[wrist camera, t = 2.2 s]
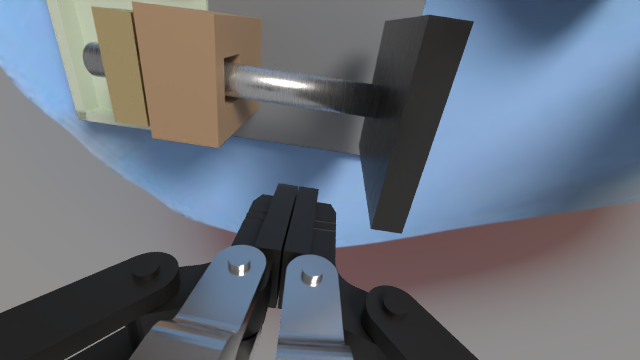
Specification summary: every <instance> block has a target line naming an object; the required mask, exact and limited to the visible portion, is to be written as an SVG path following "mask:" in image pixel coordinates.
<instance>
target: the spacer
mask: <svg viewBox="0 0 640 360" xmlns="http://www.w3.org/2000/svg"><path fill="white" fill-rule="evenodd" d="M91 10H92V14H93V19H94V24H95V29H96V33H97V38H98V43H99V48H100V52H101V57H102V62H103V67H104V71H105V76H106V81H107V86H108V91H109V95H110V100H111V105H112V110H113V114H114V119H115V122H118V123H125V124H132V125H138V126H145V127H149V126H150V121H149V114H148V107H147V101H146V94H145V87H144V81H143V74H142V68H141V61H140V54H139V48H138V41H137V34H136V28H135V21H134V15H133V10H129V9H117V8H105V7H93V6H91Z"/></svg>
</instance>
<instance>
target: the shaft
mask: <svg viewBox="0 0 640 360" xmlns="http://www.w3.org/2000/svg"><path fill="white" fill-rule="evenodd" d="M472 25H473V21H467V20H460V19H453V18H447V17H440V16H434V15H424V16H417V17H410V18H403V19H396V20H389V21H385V23H384V28H383V33H382V37H381V42H380V47H379V52H378V56H377V61H376V66H375V71H374V75H373V80H372V84H369V83H362V82H356V81H349V80H343V79H336V78H329V77H323V76H316V75H309V74H303V73H296V72H290V71H283V70H276V69H270V68H263V67H257V66H250V65H243V64H237V63H230V62H224V85H225V96H229V97H236V98H242V99H249V100H256V101H262V102H269V103H276V104H282V105H289V106H295V107H302V108H309V109H315V110H322V111H329V112H335V113H342V114H349V115H355V116H362V117H365V118H364V123H363V127H362V132H361V137H360V142H359V152H360V158H361V165H362V172H363V179H364V186H365V192H366V199H367V206H368V213H369V220H370V226H371V229H375V230H382V231H388V232H395V233H402V231H403V228H404V225H405V222H406V219H407V217H408V214H409V211H410V208H411V205H412V202H413V199H414V196H415V193H416V190H417V187H418V184H419V181H420V178H421V175H422V172H423V169H424V166H425V164H426V161H427V158H428V155H429V152H430V149H431V146H432V143H433V140H434V137H435V134H436V131H437V128H438V125H439V122H440V119H441V116H442V113H443V111H444V108H445V105H446V102H447V99H448V96H449V93H450V90H451V87H452V84H453V81H454V78H455V75H456V72H457V69H458V66H459V63H460V60H461V57H462V55H463V52H464V49H465V46H466V43H467V40H468V37H469V34H470V31H471V28H472ZM83 62H84V65H85V67H86V69H87V70H88V72H89V73H90V74H92V75H93V76H96V77H103V78H106V76H105V71H104V67H103V62H102V57H101V52H100V48H99V43H98V42H90V43H88V44H87V45H86V46H85V47H84V50H83Z"/></svg>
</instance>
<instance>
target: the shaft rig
mask: <svg viewBox="0 0 640 360" xmlns="http://www.w3.org/2000/svg"><path fill="white" fill-rule="evenodd" d="M46 1H47V5H48V9H49V12H50V16H51V20H52V24H53V27H54V31H55V35H56V38H57V42H58V46H59V49H60V53H61V57H62V61H63V64H64V68H65V72H66V75H67V79H68V83H69V86H70V90H71V94H72V97H73V101H74V105H75V109H76V112H77V116H78V120H85V121H92V122H98V123H105V124H112V125H119V126H125V127H132V128H139V129H145V130H151V134H152V138H155V139H162V140H168V141H175V142H182V143H188V144H195V145H202V146H208V147H215V148H219V147H220V146H221V145H222V144H223V143H224V142H225V141H226V140H227V139H228V138H229V137H230V136H236V137H243V138H250V139H256V140H263V141H270V142H276V143H283V144H290V145H296V146H303V147H310V148H316V149H323V150H330V151H336V152H343V153H350V154H356V155H360V152H359V142H360V137H361V132H362V127H363V123H364V118H365V117H362V116H355V115H349V114H342V113H335V112H329V111H322V110H315V109H309V108H302V107H295V106H289V105H282V104H276V103H269V102H262V101H256V100H249V99H242V98H236V97H229V96H225V85H224V62H230V63H237V64H243V65H250V66H257V67H263V68H270V69H276V70H283V71H290V72H296V73H303V74H309V75H316V76H323V77H329V78H336V79H343V80H349V81H356V82H362V83H369V84H372V80H373V75H374V71H375V66H376V61H377V56H378V52H379V47H380V42H381V37H382V33H383V28H384V23H385V21H389V20H396V19H403V18H410V17H417V16H422V13H423V9H424V5H425V1H426V0H46ZM91 6H93V7H105V8H117V9H129V10H133V15H134V21H135V28H136V34H137V41H138V48H139V54H140V61H141V68H142V74H143V81H144V87H145V94H146V101H147V107H148V114H149V121H150V126H149V127H145V126H138V125H132V124H125V123H118V122H115V119H114V114H113V110H112V105H111V100H110V95H109V91H108V86H107V81H106V78H103V77H96V76H93V75H92V74H90V73H89V72H88V70H87V69H86V67H85V65H84V62H83V50H84V47H85V46H86V45H87V44H88V43H90V42H98V38H97V33H96V29H95V24H94V19H93V14H92V10H91Z"/></svg>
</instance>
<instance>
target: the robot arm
mask: <svg viewBox="0 0 640 360" xmlns="http://www.w3.org/2000/svg"><path fill="white" fill-rule="evenodd" d="M317 197H318V189H314V188H307V187H299V191H298V186H293V185H286V184H278V187H277V189H276V192H275V194H274V196H270V195H264V194H263V195H261V196H260V197H258V198H257V199H256V200H254V201H253V203H252V205H251V207H250V209H249V212H248V213H247V215H246V217H245V219H244V221H243V223H242V225H241V227H240V229H239V231H238V233H237V236H236V237H235V239H234V241H233V243H232V246H231V247H228V248H226V249H223V250H222V251H220V252H219V253H218V254H217V255H216V256H215V258H214V259H213V261H212V262H210V263H206V264H202V265H194V266H184V267H178V262H177V260H176V259H175V258H174V257H173V256H171V255H170V254H167V253H163V252H150V253H145V254H141V255H138V256H135V257H133V258H130V259H128V260H126V261H123V262H121V263H119V264H116V265H114V266H111V267H109V268H107V269H104V270H102V271H100V272H97V273H95V274H92V275H90V276H88V277H85V278H83V279H80V280H78V281H76V282H74V283H71V284H69V285H66V286H64V287H61V288H59V289H57V290H55V291H52V292H50V293H47V294H45V295H43V296H40V297H38V298H35V299H33V300H31V301H28V302H26V303H24V304H21V305H19V306H16V307H14V308H11V309H9V310H7V311H4V312H2V313H0V360H64V359H66V358H68V357H69V356H71V355H73V354H75V353H77V352H78V351H80V350H82V349H84V348H86V347H87V346H89V345H91V344H93V343H95V342H96V341H98V340H100V339H102V338H103V337H105V336H107V335H109V334H110V333H112V332H114V331H116V330H118V329H120V328H121V327H123V326H125V328H123V329H121V330H120V331H118V332H116V333H114V334H112V335H111V336H109V337H107V338H105V339H103V340H102V341H100V342H98V343H96V344H94V345H93V346H91V347H89V348H87V349H86V350H84V351H82V352H80V353H78V354H77V355H75V356H73V357H71V358H70V359H68V360H252V358H253V356H254V352H255V350H256V347H257V344H258V341H259V337H260V335H261V331H262V325H263V323H264V320H265V316H266V312H267V309H268V307H271V308H276V305H277V300H278V296H279V302H278V308H279V309H282V311H281V320H280V329H279V338H278V345H277V353H276V360H478V359H477V358H476V357H475V356H474V355H473V354H472V353H471V352H470V351H469V350H468V349H467V348H466V347H465V346H464V345H462V344H461V343H460V342H459V341H458V340H457V339H456V338H455V337H454V336H453V335H452V334H451V333H450V332H449V331H448V330H447V329H445V328H444V327H443V326H442V325H441V324H440V323H439V322H438V321H437V320H436V319H435V318H434V317H433V316H432V315H431V314H430V313H428V312H427V311H426V310H425V309H424V308H423V307H422V306H421V305H420V304H419V303H418V302H417V301H416V300H414V298H413V297H411V296H410V295H409V294H408V293H406V292H405V291H403V290H401V289H399V288H396V287H393V286H379V287H375V288H373V289H372V290H371V291H370V292H369V293H368V292H366V291H364V290H361V289H359V288H357V287H355V286H352V285H351V284H349V283H348V282H346V281H345V280H344V279H343V278H342V277H341V276H340V275H339V273H338V271H337V269H336V266H335V243H336V212H335V211H334V209H333V207H332V206H331V204H326V203H319V202H317ZM279 291H280V292H279Z"/></svg>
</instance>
